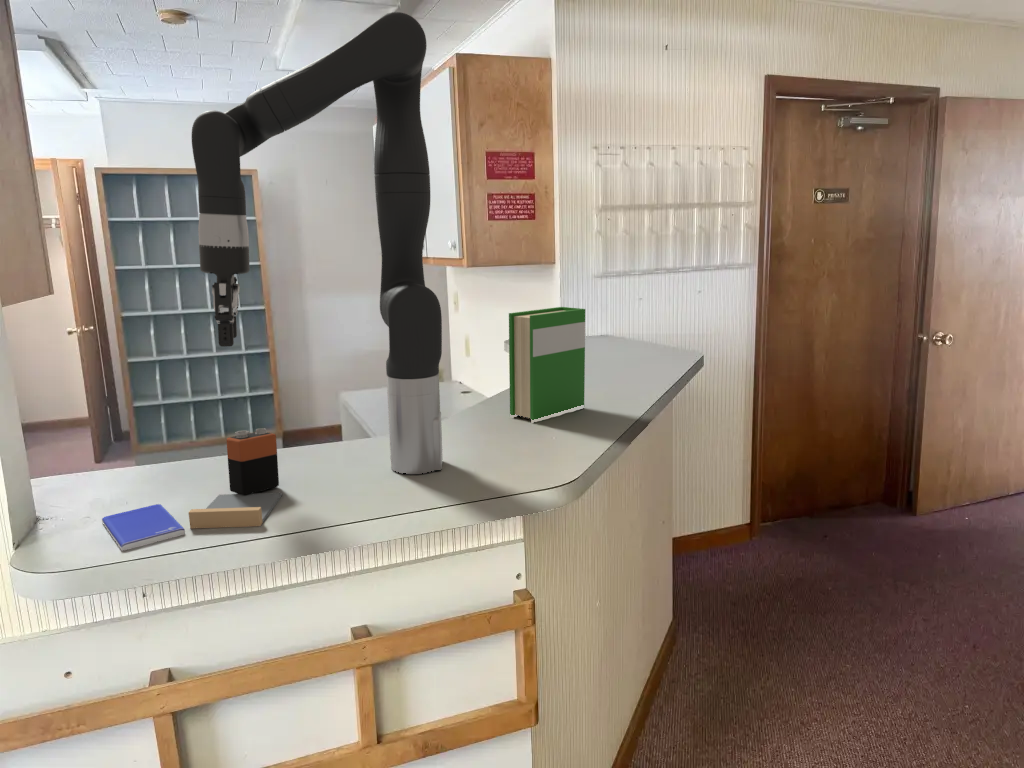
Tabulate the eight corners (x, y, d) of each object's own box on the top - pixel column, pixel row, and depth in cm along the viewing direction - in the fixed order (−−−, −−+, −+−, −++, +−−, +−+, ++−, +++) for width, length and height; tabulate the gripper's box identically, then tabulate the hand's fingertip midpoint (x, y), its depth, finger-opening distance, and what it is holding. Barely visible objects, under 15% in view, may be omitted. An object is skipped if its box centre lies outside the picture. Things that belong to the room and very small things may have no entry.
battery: (228, 492, 115) (224, 432, 114) (265, 482, 121) (261, 425, 119) (243, 496, 113) (239, 435, 111) (280, 486, 118) (276, 428, 117)
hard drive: (184, 527, 100) (160, 502, 109) (120, 544, 95) (101, 516, 104) (185, 537, 101) (161, 512, 110) (122, 554, 95) (102, 526, 105)
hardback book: (533, 423, 156) (532, 315, 151) (509, 417, 161) (508, 313, 156) (584, 409, 168) (585, 308, 163) (561, 404, 173) (561, 306, 168)
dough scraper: (281, 495, 115) (280, 481, 114) (260, 526, 103) (258, 510, 102) (219, 497, 114) (217, 482, 114) (190, 528, 102) (188, 512, 102)
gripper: (246, 246, 109) (250, 349, 112) (250, 242, 122) (253, 335, 125) (193, 244, 106) (199, 349, 110) (203, 240, 120) (208, 335, 123)
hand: (228, 341), depth 118 cm, fingers open, 8 cm apart
